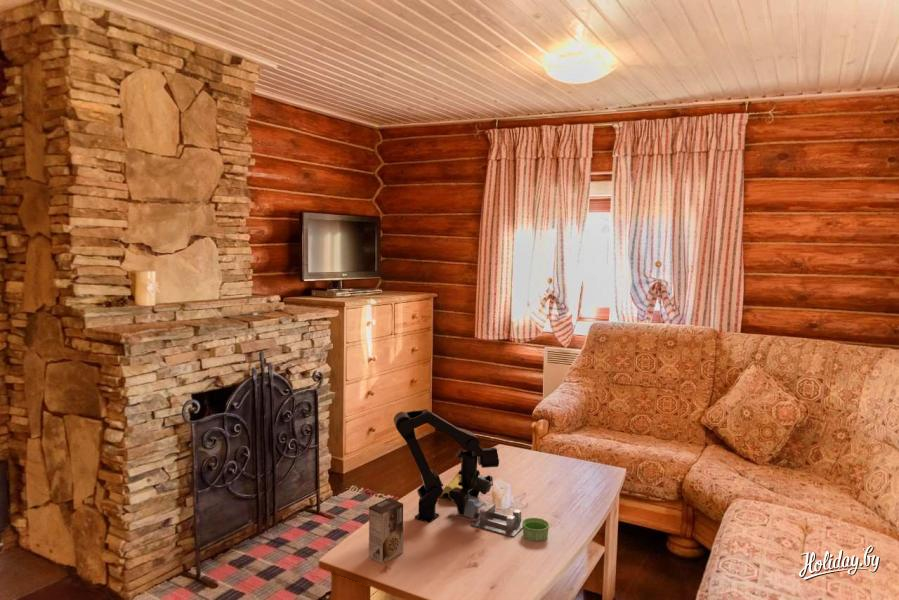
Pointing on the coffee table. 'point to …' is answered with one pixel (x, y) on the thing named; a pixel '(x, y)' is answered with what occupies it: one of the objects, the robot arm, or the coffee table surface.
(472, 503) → the servo
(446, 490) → the plastic component
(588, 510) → the coffee table surface
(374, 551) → the coffee box
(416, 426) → the robot arm
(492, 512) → the chassis
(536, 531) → the ramekin
